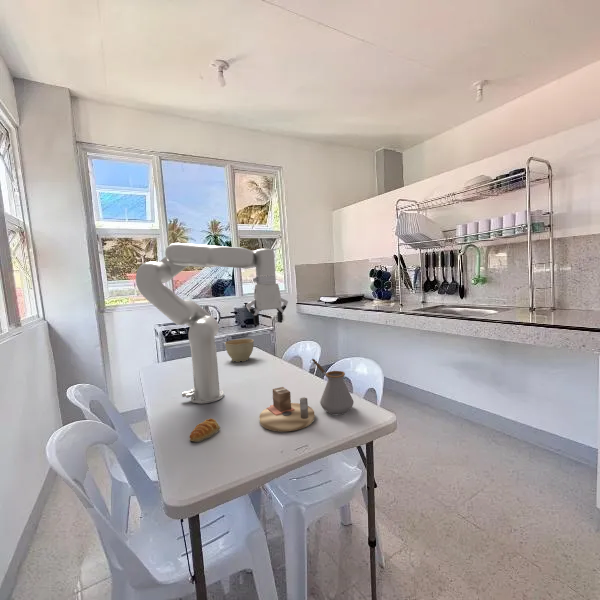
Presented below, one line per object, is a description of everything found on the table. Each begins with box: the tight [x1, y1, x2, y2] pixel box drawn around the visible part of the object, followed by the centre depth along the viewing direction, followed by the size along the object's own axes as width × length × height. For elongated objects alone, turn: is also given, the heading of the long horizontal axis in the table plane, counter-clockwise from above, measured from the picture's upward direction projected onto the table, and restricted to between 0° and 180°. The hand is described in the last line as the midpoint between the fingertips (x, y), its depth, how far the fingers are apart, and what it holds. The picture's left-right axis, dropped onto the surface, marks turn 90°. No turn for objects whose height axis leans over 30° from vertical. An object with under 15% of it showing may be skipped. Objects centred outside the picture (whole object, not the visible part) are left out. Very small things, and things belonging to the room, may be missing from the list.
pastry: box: [189, 418, 221, 443], centre depth 98 cm, size 9×7×4 cm
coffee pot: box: [309, 358, 354, 416], centre depth 115 cm, size 21×12×15 cm, turn 28°
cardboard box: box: [272, 386, 292, 412], centre depth 111 cm, size 4×6×6 cm, turn 27°
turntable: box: [258, 396, 315, 433], centre depth 106 cm, size 18×18×8 cm
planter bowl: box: [224, 338, 255, 363], centre depth 185 cm, size 16×16×11 cm
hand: (268, 323), depth 129 cm, fingers open, 9 cm apart
